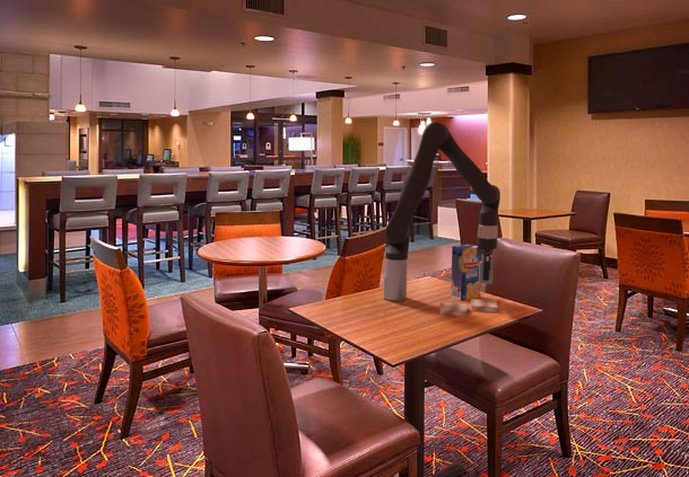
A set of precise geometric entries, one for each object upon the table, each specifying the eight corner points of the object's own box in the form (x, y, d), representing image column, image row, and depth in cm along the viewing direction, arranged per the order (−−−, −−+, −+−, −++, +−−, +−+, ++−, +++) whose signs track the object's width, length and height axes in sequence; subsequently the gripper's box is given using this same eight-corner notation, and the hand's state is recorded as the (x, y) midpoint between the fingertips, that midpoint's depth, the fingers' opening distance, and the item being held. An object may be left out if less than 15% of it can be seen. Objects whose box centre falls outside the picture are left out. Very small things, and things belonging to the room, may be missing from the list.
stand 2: (471, 310, 215) (471, 305, 215) (470, 303, 225) (470, 298, 225) (497, 312, 213) (498, 307, 213) (495, 305, 223) (496, 300, 223)
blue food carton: (480, 297, 235) (482, 246, 231) (461, 300, 229) (463, 248, 226) (469, 293, 241) (471, 244, 237) (450, 296, 235) (452, 246, 232)
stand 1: (439, 314, 210) (440, 309, 210) (440, 307, 220) (440, 302, 219) (466, 316, 208) (466, 311, 208) (466, 308, 218) (466, 303, 217)
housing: (479, 283, 216) (480, 263, 214) (478, 280, 220) (479, 260, 219) (492, 283, 215) (493, 263, 213) (491, 280, 219) (492, 261, 218)
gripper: (476, 233, 222) (475, 274, 225) (478, 238, 208) (476, 282, 211) (496, 233, 221) (493, 275, 224) (498, 239, 207) (496, 283, 210)
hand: (485, 278), depth 217 cm, fingers closed on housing, 5 cm apart
